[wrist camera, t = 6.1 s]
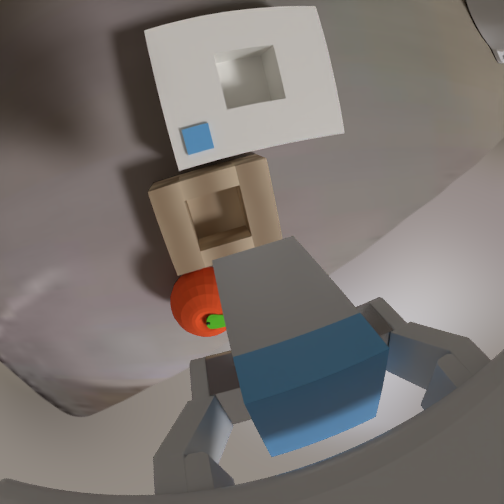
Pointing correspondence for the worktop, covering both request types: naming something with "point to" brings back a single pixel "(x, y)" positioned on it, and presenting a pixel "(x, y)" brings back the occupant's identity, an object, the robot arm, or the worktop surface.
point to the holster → (216, 211)
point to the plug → (297, 346)
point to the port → (243, 81)
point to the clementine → (198, 303)
